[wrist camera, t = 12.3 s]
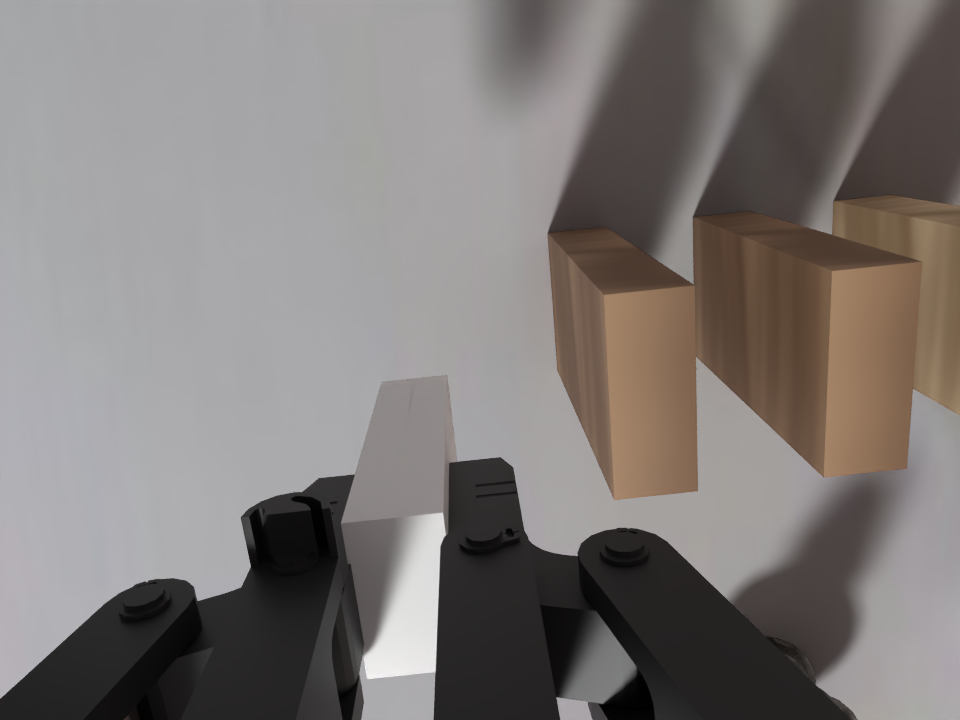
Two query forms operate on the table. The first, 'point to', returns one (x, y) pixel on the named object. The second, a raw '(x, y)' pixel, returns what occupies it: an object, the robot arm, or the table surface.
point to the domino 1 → (627, 360)
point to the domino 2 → (810, 336)
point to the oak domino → (944, 280)
